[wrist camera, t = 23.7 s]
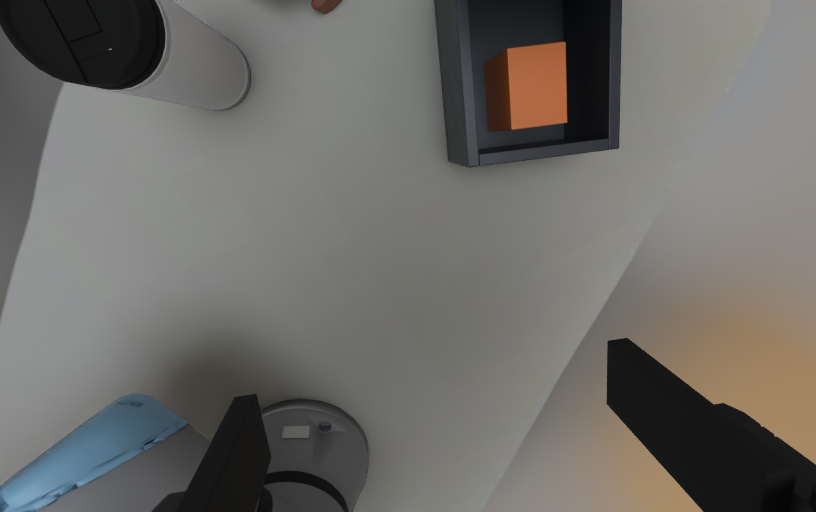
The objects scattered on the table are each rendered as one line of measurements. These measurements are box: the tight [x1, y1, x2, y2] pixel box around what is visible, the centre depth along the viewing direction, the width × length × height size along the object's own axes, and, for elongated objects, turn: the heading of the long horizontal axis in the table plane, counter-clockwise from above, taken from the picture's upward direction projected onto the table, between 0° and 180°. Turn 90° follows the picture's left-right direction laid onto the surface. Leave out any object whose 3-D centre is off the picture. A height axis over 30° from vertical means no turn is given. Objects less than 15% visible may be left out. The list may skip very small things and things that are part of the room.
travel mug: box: [0, 0, 251, 110], centre depth 28 cm, size 6×7×20 cm
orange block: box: [484, 41, 567, 132], centre depth 36 cm, size 6×5×7 cm
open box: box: [434, 0, 622, 167], centre depth 36 cm, size 15×12×9 cm
